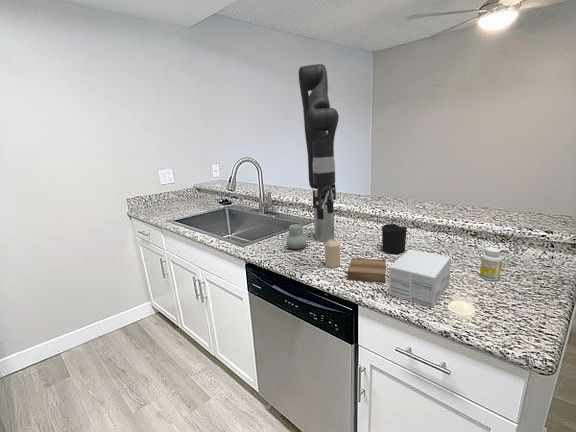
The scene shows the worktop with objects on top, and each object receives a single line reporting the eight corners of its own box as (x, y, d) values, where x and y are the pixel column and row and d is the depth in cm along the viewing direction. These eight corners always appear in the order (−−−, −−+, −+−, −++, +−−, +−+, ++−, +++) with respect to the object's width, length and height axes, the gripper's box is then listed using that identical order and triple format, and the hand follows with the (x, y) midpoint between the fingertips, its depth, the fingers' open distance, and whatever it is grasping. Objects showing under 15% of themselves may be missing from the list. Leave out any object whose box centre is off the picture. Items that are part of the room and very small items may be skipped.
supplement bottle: (487, 281, 95) (491, 253, 93) (476, 274, 100) (478, 247, 98) (504, 280, 96) (507, 251, 93) (491, 273, 101) (494, 245, 98)
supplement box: (407, 274, 104) (408, 248, 102) (449, 284, 96) (452, 256, 93) (387, 294, 92) (388, 266, 90) (433, 308, 83) (435, 277, 81)
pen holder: (402, 246, 129) (403, 223, 127) (408, 254, 120) (409, 230, 118) (379, 246, 130) (380, 224, 128) (384, 254, 121) (384, 231, 119)
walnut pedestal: (351, 265, 113) (351, 257, 113) (385, 267, 110) (385, 259, 109) (347, 279, 102) (347, 271, 102) (385, 282, 99) (385, 274, 98)
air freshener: (306, 251, 131) (305, 228, 128) (287, 252, 131) (285, 230, 128) (305, 242, 141) (304, 221, 139) (287, 243, 142) (286, 222, 139)
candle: (328, 269, 111) (328, 243, 109) (323, 263, 117) (322, 239, 114) (342, 266, 113) (342, 241, 110) (336, 261, 118) (335, 237, 115)
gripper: (322, 167, 111) (324, 210, 116) (304, 173, 100) (306, 220, 104) (341, 167, 107) (342, 211, 112) (325, 173, 96) (327, 222, 100)
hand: (325, 216), depth 108 cm, fingers open, 8 cm apart
